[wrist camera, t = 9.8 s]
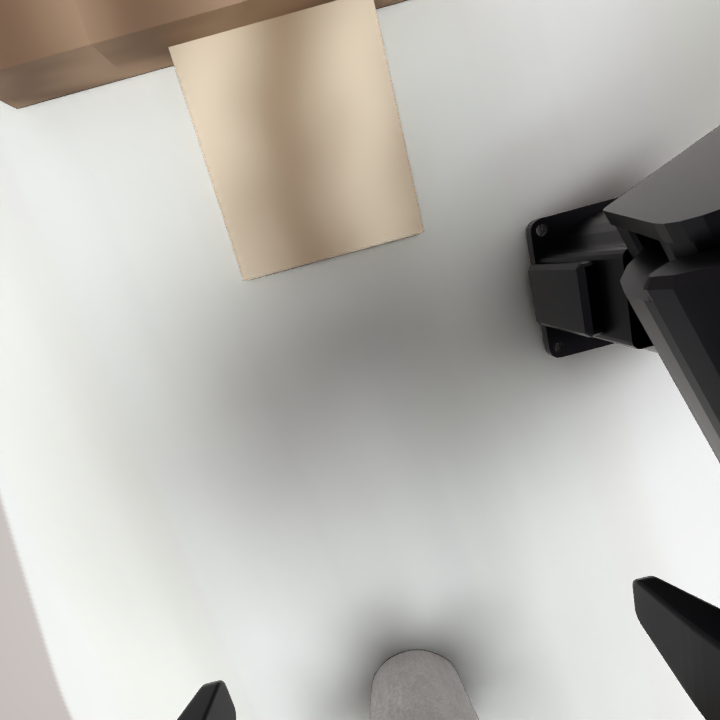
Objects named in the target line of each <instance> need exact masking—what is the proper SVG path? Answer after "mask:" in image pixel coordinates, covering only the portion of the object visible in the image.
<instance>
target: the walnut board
mask: <svg viewBox="0 0 720 720" xmlns="http://www.w3.org/2000/svg"><path fill="white" fill-rule="evenodd" d="M402 1H406V0H0V100H1V101H3V102H4V103H6V104H8V105H10V106H12V107H14V108H16V109H18V108H21V107H25V106H28V105H32V104H36V103H39V102H43V101H46V100H50V99H54V98H57V97H61V96H64V95H68V94H72V93H75V92H79V91H82V90H86V89H90V88H93V87H97V86H100V85H104V84H108V83H111V82H115V81H118V80H122V79H126V78H129V77H133V76H136V75H140V74H144V73H147V72H151V71H154V70H158V69H162V68H165V67H169V66H172V65H174V67H175V70H176V73H177V76H178V79H179V82H180V85H181V88H182V92H183V95H184V98H185V101H186V104H187V107H188V110H189V113H190V116H191V119H192V123H193V126H194V129H195V132H196V135H197V138H198V141H199V144H200V147H201V150H202V154H203V157H204V160H205V163H206V166H207V169H208V172H209V175H210V178H211V181H212V185H213V188H214V191H215V194H216V197H217V200H218V203H219V206H220V209H221V212H222V216H223V219H224V222H225V225H226V228H227V231H228V234H229V237H230V240H231V243H232V246H233V250H234V253H235V256H236V259H237V262H238V265H239V268H240V271H241V274H242V277H243V281H244V280H251V279H255V278H259V277H263V276H266V275H270V274H274V273H277V272H281V271H285V270H288V269H292V268H296V267H299V266H303V265H307V264H310V263H314V262H318V261H322V260H325V259H329V258H333V257H336V256H340V255H344V254H347V253H351V252H355V251H358V250H362V249H366V248H369V247H373V246H377V245H381V244H384V243H388V242H392V241H395V240H399V239H403V238H406V237H410V236H414V235H417V234H420V233H422V232H424V229H423V224H422V219H421V215H420V210H419V206H418V201H417V196H416V192H415V187H414V183H413V178H412V174H411V169H410V164H409V160H408V155H407V151H406V146H405V141H404V137H403V132H402V128H401V123H400V119H399V114H398V109H397V105H396V100H395V96H394V91H393V86H392V82H391V77H390V73H389V68H388V63H387V59H386V54H385V50H384V45H383V41H382V36H381V31H380V27H379V22H378V18H377V13H376V9H377V8H381V7H384V6H388V5H392V4H395V3H399V2H402Z"/></svg>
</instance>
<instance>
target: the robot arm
mask: <svg viewBox="0 0 720 720" xmlns="http://www.w3.org/2000/svg"><path fill="white" fill-rule="evenodd" d="M538 226H541V227H542V229H543V233H542V234H541V236H539V235H537V233H536V228H537V227H538ZM527 239H528V245H529V251H530V258H531V264H532V266H531V267H530V269H529V271H528V272H529V279H530V285H531V291H532V297H533V303H534V309H535V315H536V320H537V322H538V323H540V324H541V325H542V331H543V337H544V343H545V349H546V351H547V353H548V354H549V355H552V356H554V357H557V358H558V357H564V356H568V355H572V354H575V353H579V352H583V351H587V350H590V349H594V348H598V347H602V346H605V345H609V344H613V343H617V344H621V345H625V346H629V347H633V348H637V349H645V350H649V351H653V352H657V353H658V354H659V356H660V357H661V359H662V361H663V363H664V364H665V366H666V368H667V370H668V372H669V373H670V375H671V377H672V379H673V380H674V382H675V384H676V386H677V388H678V389H679V391H680V393H681V395H682V397H683V398H684V400H685V402H686V404H687V405H688V407H689V409H690V411H691V413H692V414H693V416H694V418H695V420H696V421H697V423H698V425H699V427H700V429H701V430H702V432H703V434H704V436H705V438H706V439H707V441H708V443H709V445H710V446H711V448H712V450H713V452H714V454H715V455H716V457H717V459H718V461H719V463H720V125H719V126H718V127H717V128H715V129H714V130H713V131H711V132H710V133H708V134H707V135H706V136H704V137H703V138H701V139H700V140H699V141H697V142H696V143H694V144H693V145H692V146H690V147H689V148H687V149H686V150H685V151H683V152H682V153H680V154H679V155H678V156H676V157H675V158H673V159H672V160H671V161H669V162H668V163H666V164H665V165H664V166H662V167H661V168H659V169H658V170H657V171H655V172H654V173H652V174H651V175H650V176H648V177H647V178H645V179H644V180H643V181H641V182H640V183H638V184H637V185H636V186H634V187H633V188H631V189H630V190H629V191H627V192H626V193H624V194H623V195H622V196H620V197H619V198H615V199H611V200H608V201H604V202H600V203H596V204H593V205H589V206H585V207H582V208H578V209H574V210H571V211H567V212H563V213H560V214H556V215H552V216H548V217H545V218H541V219H537V220H535V221H533V222H531V223H530V224H529V225H528V228H527ZM558 342H560V344H561V345H560V348H559V350H557V351H555V349H554V348H555V345H556V343H558ZM633 594H634V603H635V611H636V615H637V617H638V619H639V621H640V623H641V625H642V626H643V628H644V629H645V631H646V632H647V634H648V635H649V637H650V638H651V640H652V641H653V643H654V644H655V646H656V647H657V649H658V650H659V652H660V653H661V655H662V656H663V658H664V660H665V661H666V663H667V664H668V666H669V667H670V669H671V670H672V672H673V673H674V675H675V676H676V678H677V679H678V681H679V682H680V684H681V685H682V687H683V688H684V690H685V691H686V693H687V694H688V696H689V697H690V699H691V700H692V701H693V703H694V704H695V706H696V707H697V708H698V710H699V711H700V712H701V714H702V715H703V716H704V718H705V719H706V720H720V608H718V607H716V606H714V605H712V604H710V603H708V602H706V601H704V600H702V599H700V598H698V597H696V596H694V595H691V594H689V593H687V592H685V591H683V590H681V589H679V588H677V587H675V586H673V585H671V584H669V583H667V582H665V581H663V580H661V579H659V578H657V577H654V576H647V577H643V578H639V579H635V580H634V581H633ZM177 720H236V711H235V707H234V704H233V702H232V699H231V697H230V694H229V692H228V689H227V687H226V685H225V683H224V682H223V681H222V680H219V681H215V682H211V683H207V684H205V685H203V686H202V687H201V688H200V689H199V691H198V692H197V693H196V695H195V696H194V697H193V699H192V700H191V702H190V703H189V704H188V706H187V707H186V708H185V710H184V711H183V712H182V714H181V715H180V716H179V718H178V719H177Z"/></svg>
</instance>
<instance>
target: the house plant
mask: <svg viewBox="0 0 720 720" xmlns="http://www.w3.org/2000/svg"><path fill="white" fill-rule="evenodd" d="M369 720H479V718H478V716H477V714H476V712H475V710H474V708H473V706H472V703H471V701H470V699H469V697H468V695H467V693H466V691H465V688H464V686H463V684H462V682H461V680H460V678H459V676H458V673H457V671H456V669H455V668H454V666H453V665H452V664H451V662H450V661H448V660H447V659H445V658H443V657H442V656H439V655H437V654H434V653H432V652H428V651H424V650H411V651H406V652H403V653H400V654H397V655H395V656H393V657H392V658H390V659H388V660H387V661H386V662H385V663H384V664H383V665H382V666H380V668H379V669H378V671H377V673H376V674H375V676H374V680H373V683H372V692H371V704H370V716H369Z"/></svg>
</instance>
